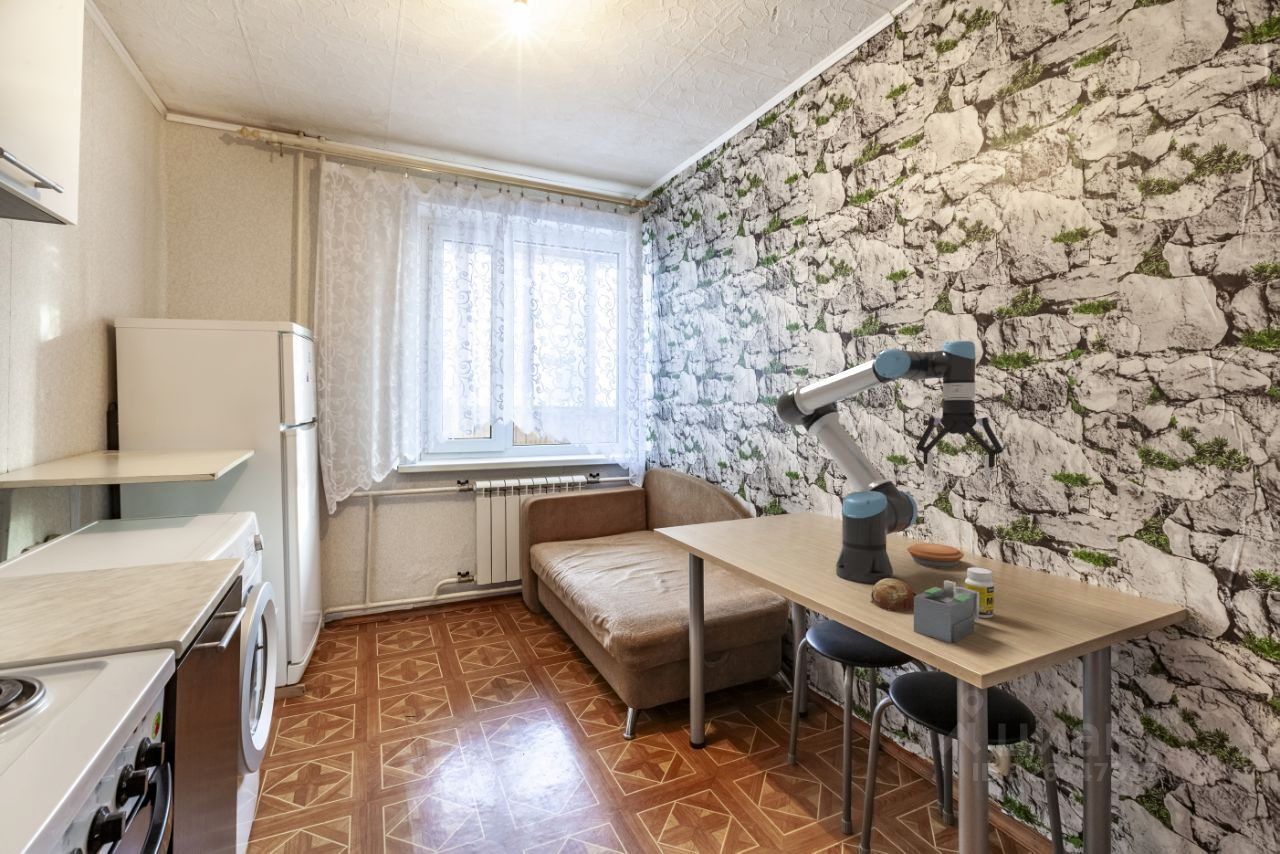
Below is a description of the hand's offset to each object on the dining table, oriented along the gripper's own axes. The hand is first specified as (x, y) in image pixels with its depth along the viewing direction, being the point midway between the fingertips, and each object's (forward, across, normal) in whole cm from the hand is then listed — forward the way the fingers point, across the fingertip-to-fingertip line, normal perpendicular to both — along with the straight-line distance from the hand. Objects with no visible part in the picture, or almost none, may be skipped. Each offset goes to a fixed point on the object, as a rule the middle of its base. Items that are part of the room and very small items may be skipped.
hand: (957, 478), depth 149 cm
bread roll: (+29, -9, -27) cm, 41 cm away
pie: (+29, -9, +19) cm, 36 cm away
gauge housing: (+29, +4, -38) cm, 48 cm away
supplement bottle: (+29, +8, -22) cm, 37 cm away
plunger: (+28, +5, -33) cm, 43 cm away
